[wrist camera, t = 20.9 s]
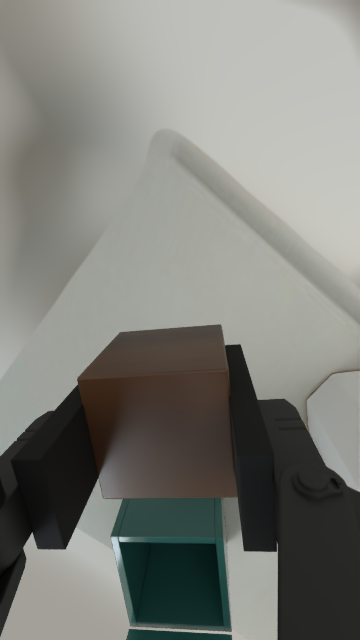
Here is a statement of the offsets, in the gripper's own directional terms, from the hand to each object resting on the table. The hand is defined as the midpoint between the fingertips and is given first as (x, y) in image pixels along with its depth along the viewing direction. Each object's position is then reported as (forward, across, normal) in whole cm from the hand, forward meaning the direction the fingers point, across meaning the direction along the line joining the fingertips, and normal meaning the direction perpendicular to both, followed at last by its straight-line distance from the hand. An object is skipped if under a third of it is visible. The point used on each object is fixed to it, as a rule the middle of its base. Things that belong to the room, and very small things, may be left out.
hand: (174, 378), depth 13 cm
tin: (+20, -5, -30) cm, 36 cm away
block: (0, 0, 0) cm, 0 cm away
